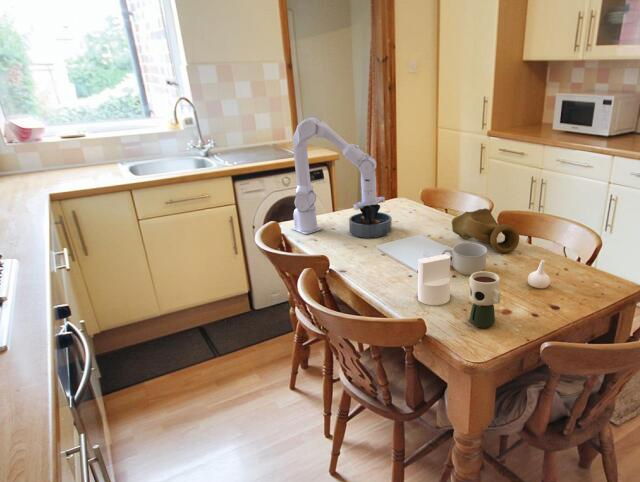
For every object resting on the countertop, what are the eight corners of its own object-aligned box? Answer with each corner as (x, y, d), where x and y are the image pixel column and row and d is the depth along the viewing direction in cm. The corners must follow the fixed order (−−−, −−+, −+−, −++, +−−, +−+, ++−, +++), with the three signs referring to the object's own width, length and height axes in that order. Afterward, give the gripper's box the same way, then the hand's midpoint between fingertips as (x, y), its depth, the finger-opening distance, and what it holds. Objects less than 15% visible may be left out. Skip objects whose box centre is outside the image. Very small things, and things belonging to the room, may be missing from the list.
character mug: (457, 317, 121) (459, 272, 116) (478, 310, 124) (481, 266, 119) (485, 337, 112) (489, 289, 107) (507, 328, 115) (512, 281, 110)
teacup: (488, 266, 150) (489, 243, 147) (483, 280, 140) (484, 256, 137) (445, 262, 154) (446, 239, 151) (438, 275, 145) (438, 252, 142)
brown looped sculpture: (502, 212, 178) (527, 220, 157) (492, 244, 180) (515, 257, 159) (457, 200, 174) (477, 207, 153) (447, 233, 177) (466, 244, 156)
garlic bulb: (524, 280, 140) (527, 256, 137) (545, 280, 139) (548, 255, 136) (530, 290, 134) (532, 264, 131) (552, 290, 134) (555, 264, 130)
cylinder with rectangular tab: (427, 308, 126) (427, 267, 121) (412, 294, 134) (412, 255, 129) (455, 300, 129) (457, 261, 125) (439, 288, 137) (440, 250, 132)
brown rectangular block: (360, 224, 186) (360, 217, 185) (364, 223, 187) (363, 215, 186) (377, 230, 179) (377, 222, 178) (380, 229, 181) (380, 221, 179)
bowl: (341, 232, 185) (340, 218, 183) (372, 222, 195) (371, 209, 193) (368, 242, 173) (368, 228, 171) (400, 231, 184) (400, 217, 182)
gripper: (361, 195, 170) (363, 230, 176) (389, 187, 179) (390, 221, 185) (349, 192, 175) (351, 226, 180) (377, 184, 184) (378, 217, 189)
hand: (370, 223), depth 183 cm, fingers closed on brown rectangular block, 2 cm apart
